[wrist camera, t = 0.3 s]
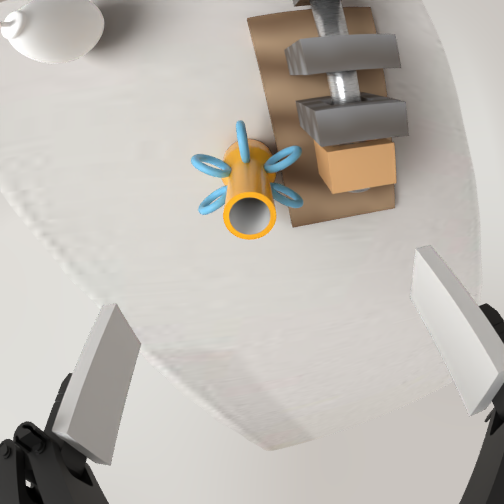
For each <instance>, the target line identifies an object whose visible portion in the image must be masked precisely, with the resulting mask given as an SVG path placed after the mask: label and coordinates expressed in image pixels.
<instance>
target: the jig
mask: <svg viewBox="0 0 504 504" xmlns="http://www.w3.org/2000/svg"><path fill="white" fill-rule="evenodd" d="M342 8H343V12H344V16H345V20H346V24H347V28H348V33H349V35H336V36H324V37H318V32H317V28H316V24H315V20H314V16H313V12H312V9H307V10H297V11H289V12H281V13H274V14H268V15H262V16H256V17H250V18H247V22H248V26H249V30H250V34H251V38H252V42H253V46H254V50H255V54H256V58H257V62H258V66H259V70H260V74H261V79H262V83H263V87H264V92H265V96H266V100H267V105H268V109H269V114H270V118H271V123H272V127H273V132H274V137H275V142H276V146H277V151H278V152H279V151H281V150H283V149H285V148H287V147H290V146H299V147H301V149H302V154H301V156H300V157H299V158H298V159H297V160H296V161H295V162H294V163H293V164H291V165H290V166H288V167H286V168H285V169H283V170H281V171H282V176H283V181H284V186H286V187H288V188H290V189H292V190H293V191H295V192H296V193H297V194H299V195H300V196H301V198H302V199H303V206H302V207H300V208H292V207H289V206H288V207H289V213H290V218H291V223H292V227H298V226H303V225H309V224H314V223H319V222H324V221H329V220H334V219H340V218H345V217H350V216H355V215H361V214H366V213H371V212H376V211H382V210H387V209H393V208H395V193H394V184H388V185H382V186H376V187H370V189H368V190H367V191H364V192H358V193H353V192H348V191H347V192H342V193H336V194H332V192H331V191H330V189H329V188H328V186H327V185H326V183H325V182H324V180H323V179H322V178H321V176H320V175H319V171H318V164H317V158H316V152H315V146H314V140H315V141H316V142H317V143H318V144H319V145H320V146H321V147H325V146H331V145H332V146H333V147H335V146H338V144H344V143H351V142H358V141H365V140H373V139H381V138H386V139H388V140H390V141H392V137H399V136H409V135H408V122H407V111H406V102H404V101H400V100H396V99H392V98H388V97H387V91H386V84H385V77H384V71H383V68H401V64H400V58H399V52H398V47H397V42H396V36H395V34H376V29H375V25H374V20H373V16H372V12H371V8H370V7H342ZM348 70H356V72H357V78H358V84H359V90H360V97H361V102H352V103H343V104H335V105H332V101H331V95H330V90H329V84H328V79H327V74H326V73H327V72H337V71H348ZM313 139H314V140H313ZM290 155H291V154H290ZM288 156H289V155H287V156H285V157H283V158H282V159H280V160H279V161H282V160H284V159H285V158H287V157H288ZM286 197H287V198H289V199H292V198H291V197H290V196H288V195H286ZM292 200H294V199H292Z"/></svg>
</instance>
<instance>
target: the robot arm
mask: <svg viewBox="0 0 504 504" xmlns="http://www.w3.org/2000/svg"><path fill="white" fill-rule="evenodd" d="M410 299H411V301H412V302H413V304H414V306H415V308H416V309H417V311H418V313H419V315H420V317H421V318H422V320H423V322H424V324H425V326H426V328H427V329H428V331H429V333H430V335H431V337H432V339H433V341H434V343H435V345H436V346H437V348H438V350H439V352H440V354H441V356H442V358H443V360H444V362H445V364H446V366H447V369H448V371H449V373H450V375H451V377H452V379H453V381H454V383H455V386H456V388H457V390H458V392H459V394H460V397H461V399H462V401H463V403H464V406H465V408H466V410H467V412H468V415H469V417H470V416H472V415H474V414H476V413H479V412H481V411H483V410H485V409H486V408H487V407H488V405H489V404H490V403H491V401H492V402H493V404H494V408H493V410H492V411H491V412H490V414H489V415H488V416H487V418H486V420H485V422H487V421H488V420H489V419H490V422H489V426H488V429H487V432H486V436H485V439H484V442H483V445H482V448H481V451H480V454H479V457H478V460H477V462H476V465H475V468H474V471H473V473H472V476H471V478H470V480H469V483H468V485H467V488H466V490H465V492H464V495H463V497H462V499H461V501H460V503H459V504H504V320H503V319H502V317H501V316H500V314H499V313H498V312H497V311H496V310H495V309H494V308H492V307H491V306H490V305H488V304H484V305H481V306H478V305H477V304H476V302H475V301H474V299H473V298H472V297H471V295H470V294H469V293H468V291H467V290H466V289H465V287H464V286H463V285H462V283H461V282H460V281H459V279H458V278H457V277H456V276H455V274H454V273H453V272H452V270H451V269H450V268H449V267H448V265H447V264H446V263H445V262H444V260H443V259H442V258H441V257H440V256H439V254H438V253H437V252H436V251H435V250H434V248H433V247H432V246H431V245H429V246H424V247H420V248H416V250H415V260H414V270H413V278H412V286H411V293H410ZM140 347H141V343H140V341H139V340H138V338H137V337H136V335H135V333H134V332H133V330H132V329H131V327H130V325H129V324H128V322H127V320H126V319H125V317H124V315H123V314H122V312H121V310H120V309H119V307H118V305H117V304H116V303H114V304H108V305H103V306H102V308H101V310H100V312H99V314H98V317H97V319H96V321H95V323H94V325H93V328H92V330H91V332H90V334H89V336H88V339H87V341H86V343H85V345H84V348H83V350H82V352H81V355H80V357H79V359H78V362H77V364H76V366H75V369H74V372H73V373H69V374H68V376H67V377H66V378H65V379H64V381H63V382H62V384H61V387H60V389H59V392H58V393H59V394H58V395H57V397H56V400H55V403H54V405H53V408H52V410H51V413H50V416H49V418H48V421H47V424H46V427H45V430H44V432H43V431H42V430H40V429H39V428H38V427H37V426H35V425H34V424H33V423H31V422H24V423H22V424H20V426H18V427H17V429H16V431H15V433H14V437H13V441H12V440H10V439H6V440H4V441H2V443H1V444H0V504H109V503H108V501H107V499H106V498H105V496H104V494H103V492H102V490H101V488H100V486H99V484H98V482H97V481H96V478H95V476H94V475H93V472H92V470H91V468H90V466H89V465H88V464H87V463H86V459H87V458H89V459H91V460H92V461H93V462H95V463H99V464H105V465H111V461H112V457H113V452H114V447H115V442H116V438H117V434H118V430H119V425H120V421H121V417H122V413H123V409H124V405H125V401H126V397H127V393H128V389H129V386H130V382H131V378H132V375H133V371H134V367H135V364H136V360H137V357H138V353H139V350H140ZM25 479H26V480H27V481H29V482H31V487H28V486H26V481H25Z"/></svg>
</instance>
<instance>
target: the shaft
mask: <svg viewBox="0 0 504 504" xmlns="http://www.w3.org/2000/svg"><path fill="white" fill-rule="evenodd" d="M293 3H294V7H295V6H305V5H311V8H312V12H313V16H314V20H315V24H316V28H317V32H318V37H324V36H336V35H349V33H348V28H347V24H346V20H345V16H344V12H343V8H342V4H341V0H293ZM326 74H327V79H328V84H329V90H330V95H331V101H332V105H335V104H343V103H352V102H361V97H360V90H359V84H358V78H357V72H356V70H348V71H337V72H327V73H326ZM362 142H366V140H365V141H358V142H351V143H344V144H338V146H341V145H348V144H355V143H362ZM368 189H370V188H364V189H358V190H353V191H348V192H353V193H358V192H364V191H367V190H368Z"/></svg>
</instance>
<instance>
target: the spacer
mask: <svg viewBox="0 0 504 504" xmlns="http://www.w3.org/2000/svg"><path fill="white" fill-rule="evenodd" d="M313 140H314V139H313ZM314 146H315V152H316V158H317V164H318V171H319V175H320V176H321V178H322V179H323V180H324V182H325V183H326V185H327V186H328V188H329V189H330V191H331V192H332V194H336V193H342V192H347V191H353V190H358V189H364V188H370V187H376V186H382V185H388V184H394V183H396V162H395V146H394V142H392V141H390V140H388V139H386V138H381V139H373V140H366V142H362V143H355V144H348V145H341V146H335V147H333V146H332V145H331V146H325V147H321V146H320V145H319V144H318V143H317V142H316V141H315V140H314Z"/></svg>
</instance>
